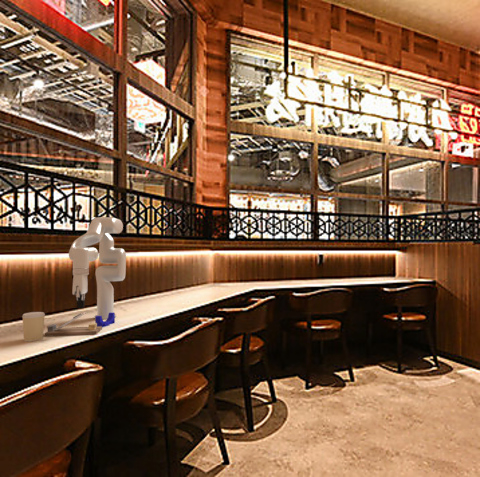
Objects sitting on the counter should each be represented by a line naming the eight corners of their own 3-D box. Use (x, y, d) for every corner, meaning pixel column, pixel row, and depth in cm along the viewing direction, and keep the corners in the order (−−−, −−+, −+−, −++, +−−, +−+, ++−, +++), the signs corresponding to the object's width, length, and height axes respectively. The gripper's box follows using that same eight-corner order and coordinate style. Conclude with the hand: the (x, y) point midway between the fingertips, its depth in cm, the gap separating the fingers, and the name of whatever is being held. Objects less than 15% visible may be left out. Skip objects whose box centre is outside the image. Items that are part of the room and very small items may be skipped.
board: (53, 330, 190) (53, 323, 190) (102, 329, 193) (102, 321, 193) (44, 336, 178) (44, 328, 178) (96, 334, 181) (96, 326, 181)
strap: (55, 331, 182) (53, 328, 182) (58, 329, 187) (57, 327, 187) (83, 314, 184) (82, 312, 184) (86, 313, 189) (84, 310, 189)
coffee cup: (48, 336, 178) (48, 311, 178) (38, 341, 168) (38, 315, 169) (28, 336, 177) (29, 311, 178) (17, 341, 168) (17, 315, 168)
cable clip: (102, 327, 197) (102, 316, 197) (95, 327, 199) (95, 316, 199) (116, 323, 208) (116, 312, 209) (110, 323, 210) (110, 312, 210)
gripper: (77, 271, 194) (77, 306, 193) (68, 272, 179) (68, 310, 179) (92, 270, 195) (92, 305, 194) (84, 272, 180) (84, 310, 179)
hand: (80, 308), depth 186 cm, fingers closed
